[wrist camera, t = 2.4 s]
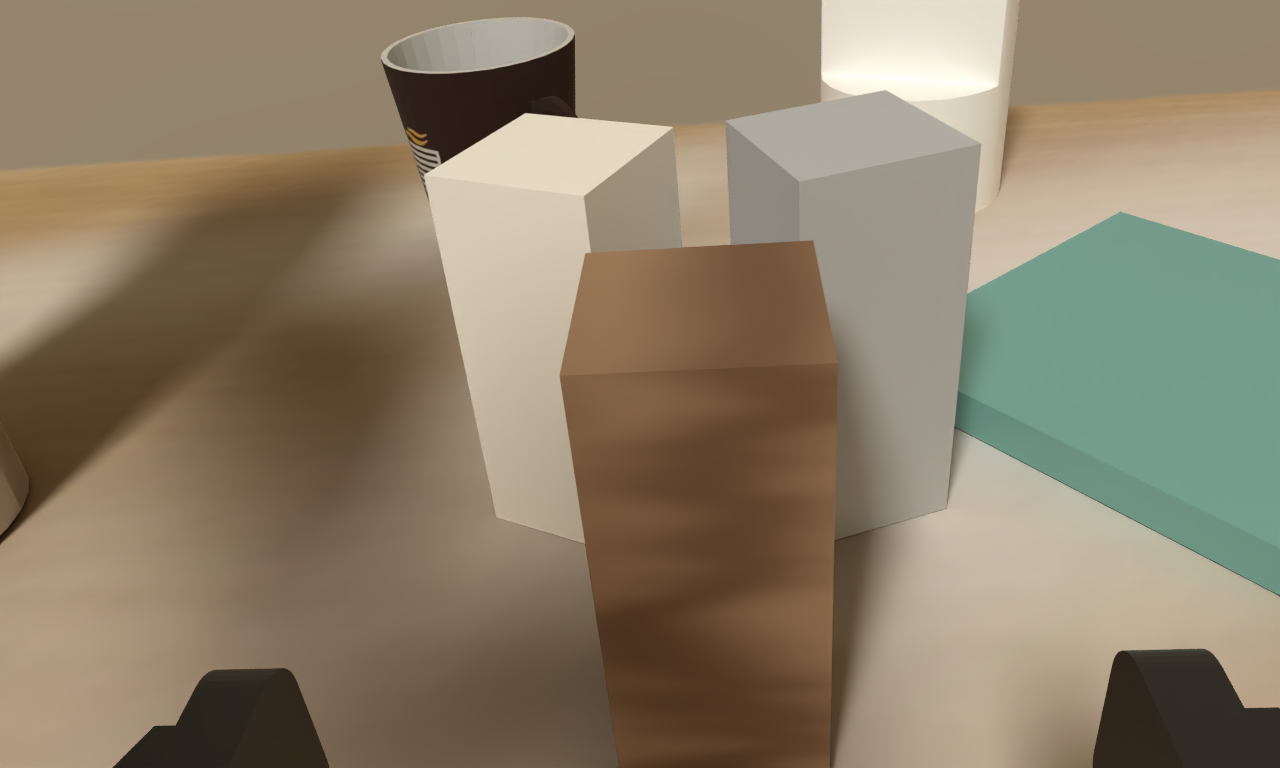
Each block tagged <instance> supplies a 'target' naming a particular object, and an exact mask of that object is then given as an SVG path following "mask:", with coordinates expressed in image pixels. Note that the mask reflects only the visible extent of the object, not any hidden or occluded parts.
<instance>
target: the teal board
mask: <svg viewBox="0 0 1280 768" xmlns="http://www.w3.org/2000/svg"><path fill="white" fill-rule="evenodd" d="M954 426H955V427H956V428H958V429H960V430H962V431H964V432H966V433H968V434H970V435H972V436H974V437H976V438H978V439H980V440H982V441H983V442H985V443H987V444H989V445H991V446H993V447H995V448H997V449H999V450H1001V451H1003V452H1005V453H1007V454H1008V455H1010V456H1012V457H1014V458H1016V459H1018V460H1020V461H1022V462H1024V463H1026V464H1028V465H1030V466H1032V467H1033V468H1035V469H1037V470H1039V471H1041V472H1043V473H1045V474H1047V475H1049V476H1051V477H1053V478H1055V479H1057V480H1058V481H1060V482H1062V483H1064V484H1066V485H1068V486H1070V487H1072V488H1074V489H1076V490H1078V491H1080V492H1082V493H1083V494H1085V495H1087V496H1089V497H1091V498H1093V499H1095V500H1097V501H1099V502H1101V503H1103V504H1105V505H1107V506H1108V507H1110V508H1112V509H1114V510H1116V511H1118V512H1120V513H1122V514H1124V515H1126V516H1128V517H1130V518H1132V519H1133V520H1135V521H1137V522H1139V523H1141V524H1143V525H1145V526H1147V527H1149V528H1151V529H1153V530H1155V531H1157V532H1159V533H1160V534H1162V535H1164V536H1166V537H1168V538H1170V539H1172V540H1174V541H1176V542H1178V543H1180V544H1182V545H1184V546H1185V547H1187V548H1189V549H1191V550H1193V551H1195V552H1197V553H1199V554H1201V555H1203V556H1205V557H1207V558H1209V559H1210V560H1212V561H1214V562H1216V563H1218V564H1220V565H1222V566H1224V567H1226V568H1228V569H1230V570H1232V571H1234V572H1235V573H1237V574H1239V575H1241V576H1243V577H1245V578H1247V579H1249V580H1251V581H1253V582H1255V583H1257V584H1259V585H1260V586H1262V587H1264V588H1266V589H1268V590H1270V591H1272V592H1274V593H1276V594H1278V595H1280V260H1278V259H1275V258H1271V257H1268V256H1265V255H1261V254H1258V253H1255V252H1252V251H1248V250H1245V249H1242V248H1238V247H1235V246H1232V245H1228V244H1225V243H1222V242H1218V241H1215V240H1212V239H1209V238H1205V237H1202V236H1199V235H1195V234H1192V233H1189V232H1185V231H1182V230H1179V229H1175V228H1172V227H1169V226H1165V225H1162V224H1159V223H1156V222H1152V221H1149V220H1146V219H1142V218H1139V217H1136V216H1132V215H1129V214H1126V213H1122V212H1119V213H1117V214H1116V215H1114V216H1112V217H1110V218H1108V219H1106V220H1104V221H1103V222H1101V223H1099V224H1097V225H1095V226H1093V227H1091V228H1090V229H1088V230H1086V231H1084V232H1082V233H1080V234H1078V235H1076V236H1075V237H1073V238H1071V239H1069V240H1067V241H1065V242H1063V243H1062V244H1060V245H1058V246H1056V247H1054V248H1052V249H1050V250H1048V251H1047V252H1045V253H1043V254H1041V255H1039V256H1037V257H1035V258H1034V259H1032V260H1030V261H1028V262H1026V263H1024V264H1022V265H1020V266H1019V267H1017V268H1015V269H1013V270H1011V271H1009V272H1007V273H1006V274H1004V275H1002V276H1000V277H998V278H996V279H994V280H993V281H991V282H989V283H987V284H985V285H983V286H981V287H979V288H978V289H976V290H974V291H972V292H970V293H968V294H967V300H966V310H965V320H964V331H963V341H962V352H961V362H960V373H959V383H958V394H957V404H956V414H955V425H954Z"/></svg>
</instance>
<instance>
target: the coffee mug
mask: <svg viewBox="0 0 1280 768" xmlns="http://www.w3.org/2000/svg"><path fill="white" fill-rule="evenodd" d="M381 61H382V64H383V67H384V70H385V73H386V76H387V79H388V82H389V85H390V88H391V91H392V94H393V96H394V99H395V102H396V105H397V108H398V111H399V114H400V117H401V120H402V123H403V126H404V129H405V132H406V135H407V138H408V140H409V144H410V147H411V150H412V153H413V156H414V158H415V161H416V164H417V167H418V170H419V173H420V176H421V179H422V182H423V185H424V188H425V191H426V194H427V197H428V192H427V188H426V183H425V178H424V175H425V174H426V173H428V172H430V171H431V170H433V169H435V168H436V167H438V166H440V165H441V164H443V163H445V162H446V161H448V160H449V159H451V158H453V157H454V156H456V155H458V154H459V153H461V152H463V151H464V150H466V149H468V148H469V147H471V146H472V145H474V144H476V143H477V142H479V141H481V140H482V139H484V138H486V137H487V136H489V135H490V134H492V133H494V132H495V131H497V130H499V129H500V128H502V127H504V126H505V125H507V124H509V123H510V122H512V121H513V120H515V119H517V118H518V117H520V116H522V115H523V114H525V113H529V114H539V115H550V116H560V117H571V118H578V117H577V116H576V114H575V33H574V31H573V29H572V28H571V27H570V26H568V25H566V24H564V23H561V22H558V21H554V20H549V19H540V18H523V17H518V18H517V17H515V18H494V19H483V20H475V21H467V22H461V23H455V24H450V25H445V26H441V27H437V28H433V29H429V30H426V31H423V32H419V33H416V34H413V35H410V36H408V37H405V38H403V39H401V40H399V41H397V42H395V43H393V44H392V45H390V46H388V47H387V48H386V49H385V50H384V51H383V52H382V54H381ZM428 200H429V197H428ZM429 203H430V202H429Z"/></svg>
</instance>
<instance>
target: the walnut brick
mask: <svg viewBox="0 0 1280 768" xmlns="http://www.w3.org/2000/svg"><path fill="white" fill-rule="evenodd" d="M560 383H561V389H562V396H563V402H564V409H565V415H566V422H567V428H568V435H569V441H570V448H571V455H572V461H573V468H574V474H575V481H576V487H577V494H578V500H579V507H580V513H581V520H582V527H583V533H584V540H585V546H586V553H587V559H588V566H589V572H590V579H591V585H592V592H593V598H594V605H595V612H596V618H597V625H598V631H599V638H600V644H601V651H602V657H603V664H604V670H605V677H606V684H607V690H608V697H609V703H610V710H611V716H612V723H613V729H614V736H615V742H616V749H617V755H618V762H619V768H830V733H831V684H832V635H833V585H834V536H835V487H836V438H837V389H838V361H837V356H836V351H835V346H834V341H833V336H832V331H831V326H830V321H829V316H828V311H827V306H826V301H825V296H824V291H823V286H822V281H821V276H820V271H819V266H818V261H817V256H816V252H815V247H814V242H813V240H810V241H792V242H775V243H757V244H739V245H721V246H703V247H685V248H668V249H650V250H632V251H614V252H596V253H585V257H584V262H583V266H582V271H581V276H580V281H579V285H578V290H577V295H576V300H575V304H574V309H573V314H572V319H571V323H570V328H569V333H568V338H567V342H566V347H565V352H564V357H563V361H562V366H561V371H560Z"/></svg>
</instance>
